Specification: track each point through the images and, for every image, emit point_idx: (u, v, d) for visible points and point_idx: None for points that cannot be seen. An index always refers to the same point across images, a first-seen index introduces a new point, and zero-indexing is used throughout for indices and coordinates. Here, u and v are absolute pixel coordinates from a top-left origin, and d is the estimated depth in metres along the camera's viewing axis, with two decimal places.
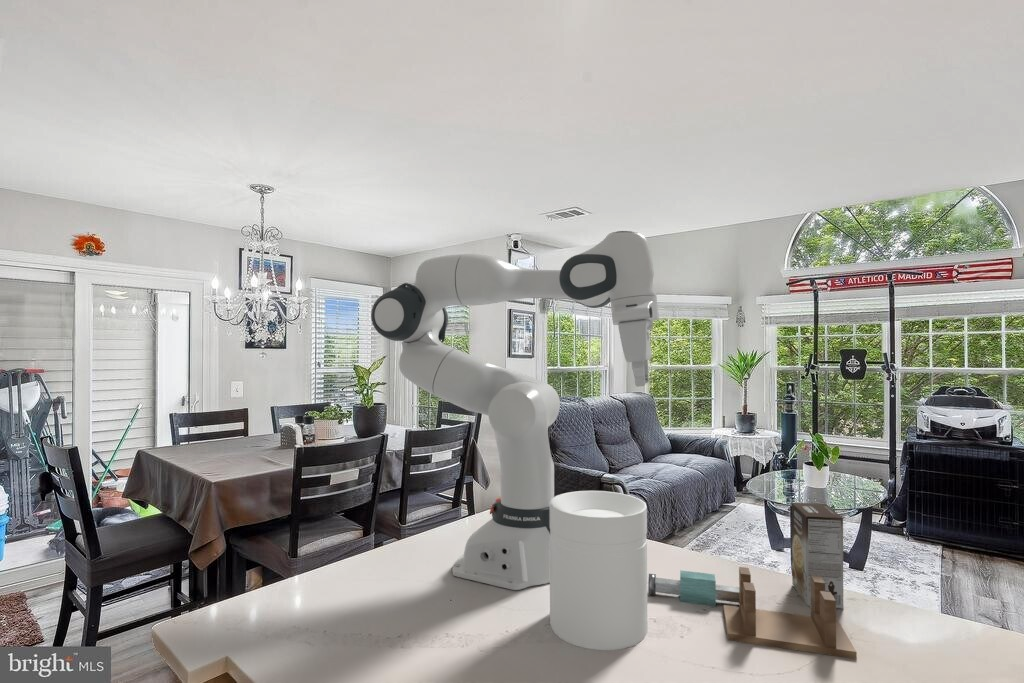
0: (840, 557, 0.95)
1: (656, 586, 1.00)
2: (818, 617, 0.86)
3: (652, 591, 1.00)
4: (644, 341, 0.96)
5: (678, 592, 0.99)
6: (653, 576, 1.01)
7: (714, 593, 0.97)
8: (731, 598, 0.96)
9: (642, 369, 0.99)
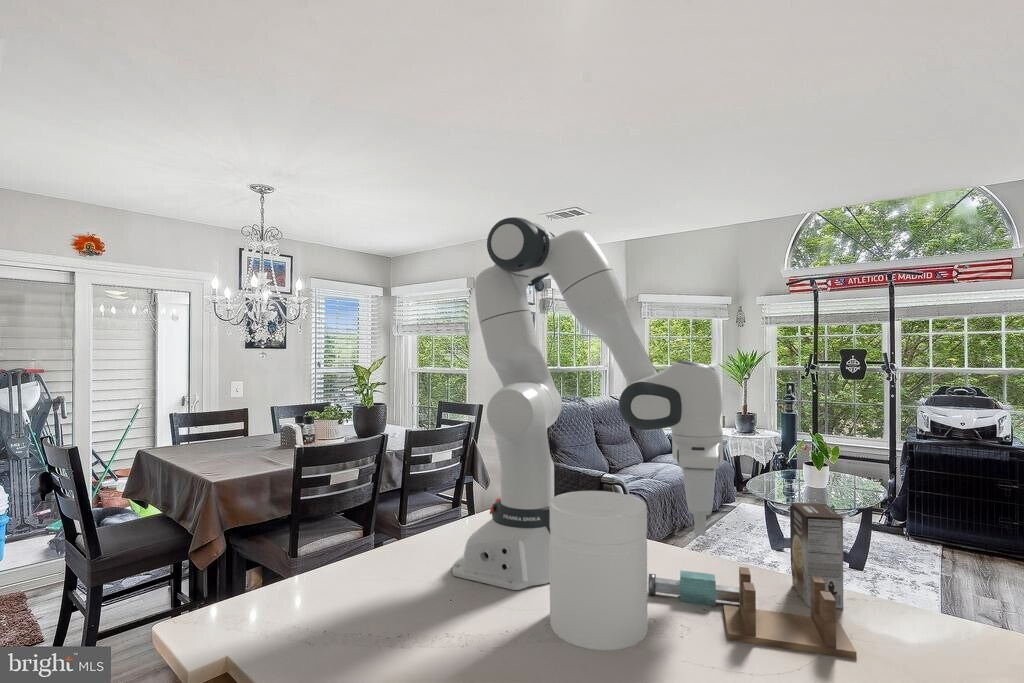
0: (840, 557, 0.95)
1: (656, 586, 1.00)
2: (818, 617, 0.86)
3: (652, 591, 1.00)
4: (711, 495, 0.89)
5: (678, 592, 0.99)
6: (653, 576, 1.01)
7: (714, 593, 0.97)
8: (731, 598, 0.96)
9: (704, 519, 0.93)
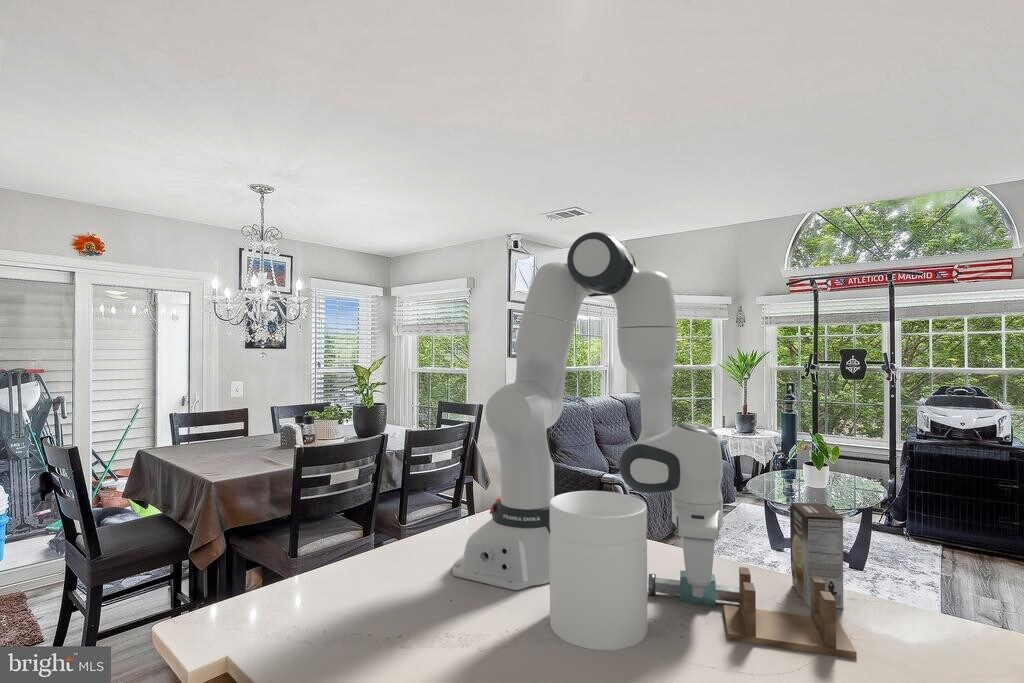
0: (840, 557, 0.95)
1: (656, 586, 1.00)
2: (818, 617, 0.86)
3: (652, 591, 1.00)
4: (710, 567, 0.89)
5: (678, 592, 0.99)
6: (653, 576, 1.01)
7: (714, 593, 0.97)
8: (731, 598, 0.96)
9: None
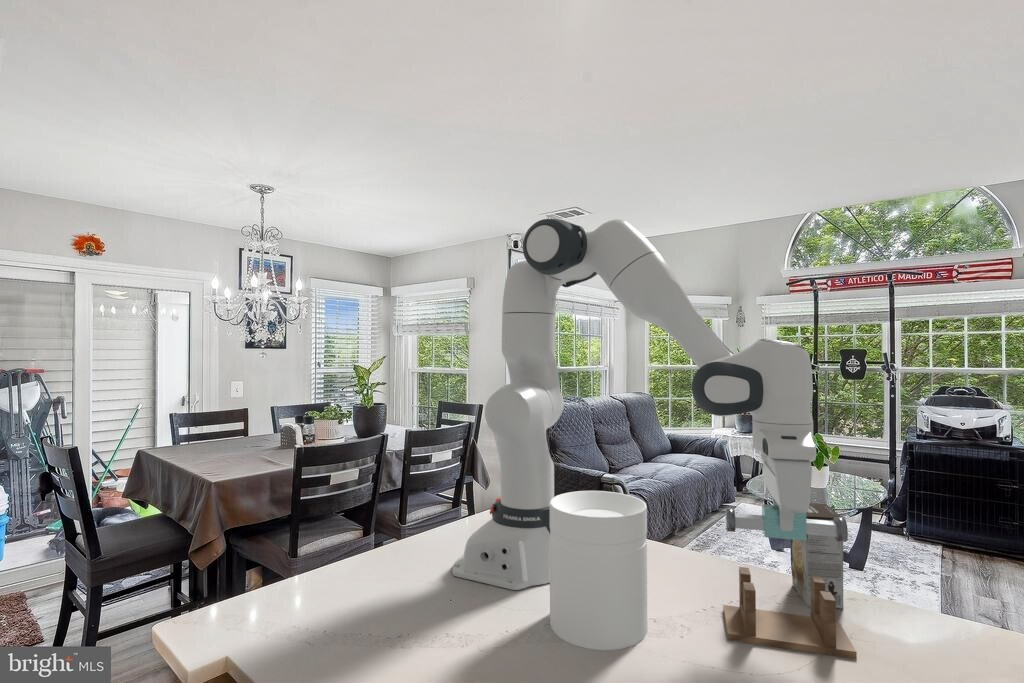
0: (840, 557, 0.95)
1: (736, 521, 0.89)
2: (818, 617, 0.86)
3: (732, 527, 0.88)
4: (809, 490, 0.78)
5: (762, 527, 0.88)
6: (732, 510, 0.89)
7: (805, 526, 0.85)
8: (824, 532, 0.85)
9: (792, 513, 0.84)
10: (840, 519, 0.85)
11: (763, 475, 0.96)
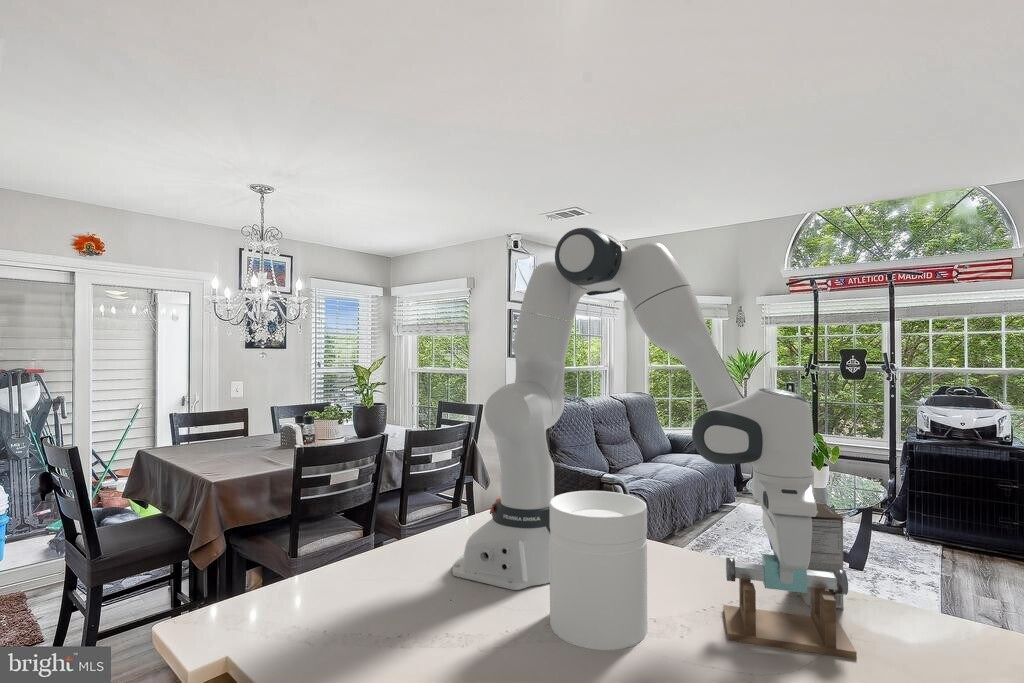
0: (840, 557, 0.95)
1: (736, 571, 0.89)
2: (818, 617, 0.86)
3: (732, 577, 0.88)
4: (809, 548, 0.78)
5: (762, 578, 0.87)
6: (732, 560, 0.89)
7: (805, 579, 0.85)
8: (825, 584, 0.85)
9: None
10: (840, 572, 0.85)
11: (763, 521, 0.96)
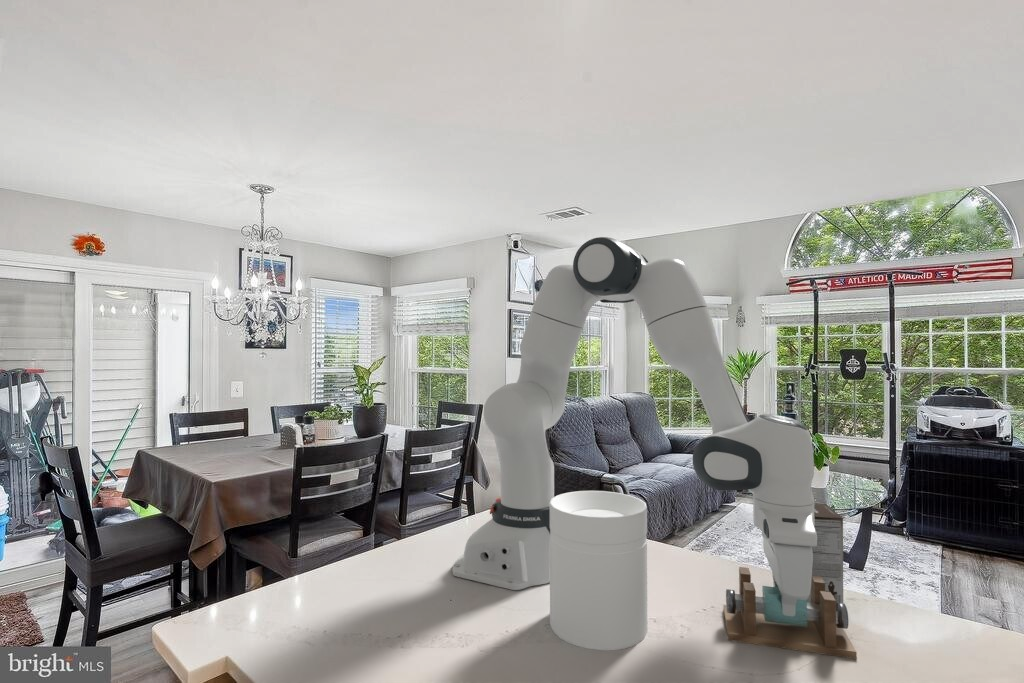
0: (840, 557, 0.95)
1: (736, 604, 0.88)
2: None
3: (732, 609, 0.88)
4: (810, 578, 0.78)
5: (762, 611, 0.87)
6: (732, 592, 0.89)
7: (805, 612, 0.85)
8: None
9: (795, 598, 0.82)
10: (841, 606, 0.84)
11: (764, 546, 0.96)
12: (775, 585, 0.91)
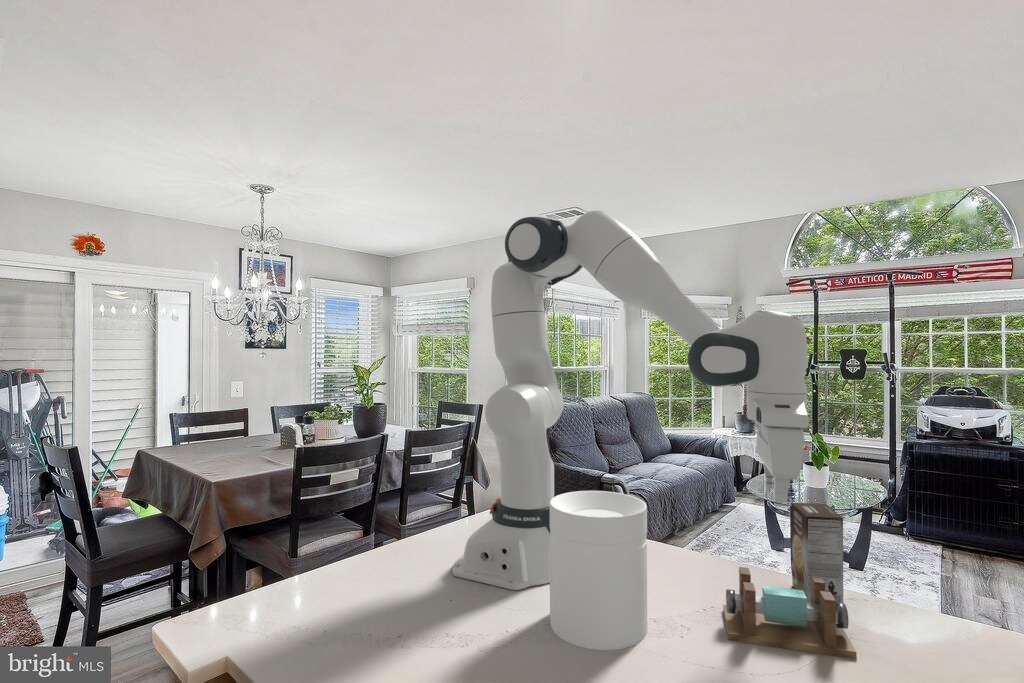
0: (840, 557, 0.95)
1: (736, 604, 0.88)
2: None
3: (732, 609, 0.88)
4: (800, 457, 0.79)
5: (762, 611, 0.87)
6: (732, 592, 0.89)
7: (805, 612, 0.85)
8: None
9: (787, 485, 0.83)
10: (841, 606, 0.84)
11: (757, 447, 0.97)
12: (767, 479, 0.93)
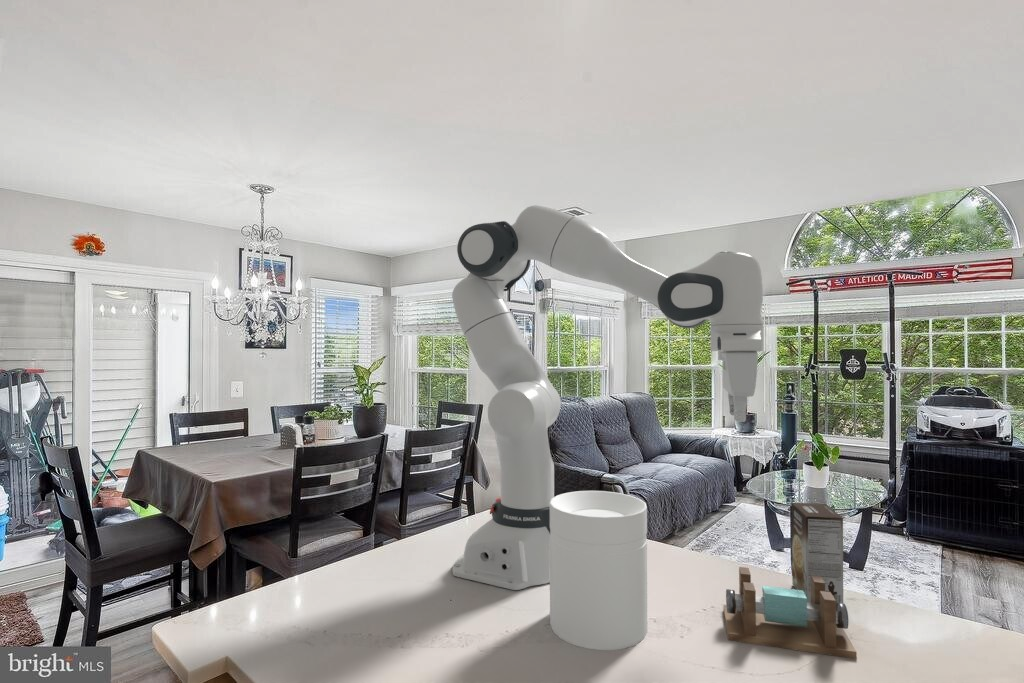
0: (840, 557, 0.95)
1: (736, 604, 0.88)
2: None
3: (732, 609, 0.88)
4: (755, 376, 0.88)
5: (762, 611, 0.87)
6: (732, 592, 0.89)
7: (805, 612, 0.85)
8: None
9: (745, 404, 0.92)
10: (841, 606, 0.84)
11: None
12: (730, 407, 1.02)
